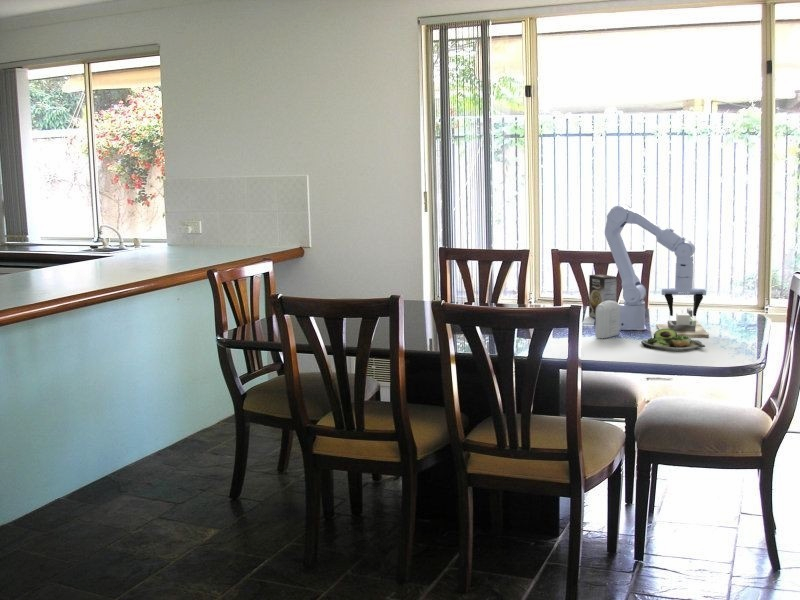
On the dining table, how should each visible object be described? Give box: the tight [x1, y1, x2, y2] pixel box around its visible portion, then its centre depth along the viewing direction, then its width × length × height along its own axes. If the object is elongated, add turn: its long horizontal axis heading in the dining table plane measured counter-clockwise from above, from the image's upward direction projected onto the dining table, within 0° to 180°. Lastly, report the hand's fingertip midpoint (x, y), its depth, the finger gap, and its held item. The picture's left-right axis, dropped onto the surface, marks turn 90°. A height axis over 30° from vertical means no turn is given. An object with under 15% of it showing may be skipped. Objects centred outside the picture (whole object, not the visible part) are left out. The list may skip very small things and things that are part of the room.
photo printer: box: [594, 300, 620, 340], centre depth 296 cm, size 10×4×12 cm, turn 134°
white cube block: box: [675, 312, 690, 325], centre depth 302 cm, size 4×4×5 cm
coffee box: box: [588, 273, 618, 319], centre depth 332 cm, size 9×6×16 cm
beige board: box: [655, 318, 710, 338], centre depth 307 cm, size 15×30×3 cm, turn 170°
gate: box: [686, 308, 697, 326], centre depth 311 cm, size 1×14×4 cm, turn 169°
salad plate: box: [641, 329, 706, 352], centre depth 279 cm, size 19×18×5 cm
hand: (682, 315), depth 301 cm, fingers open, 7 cm apart
